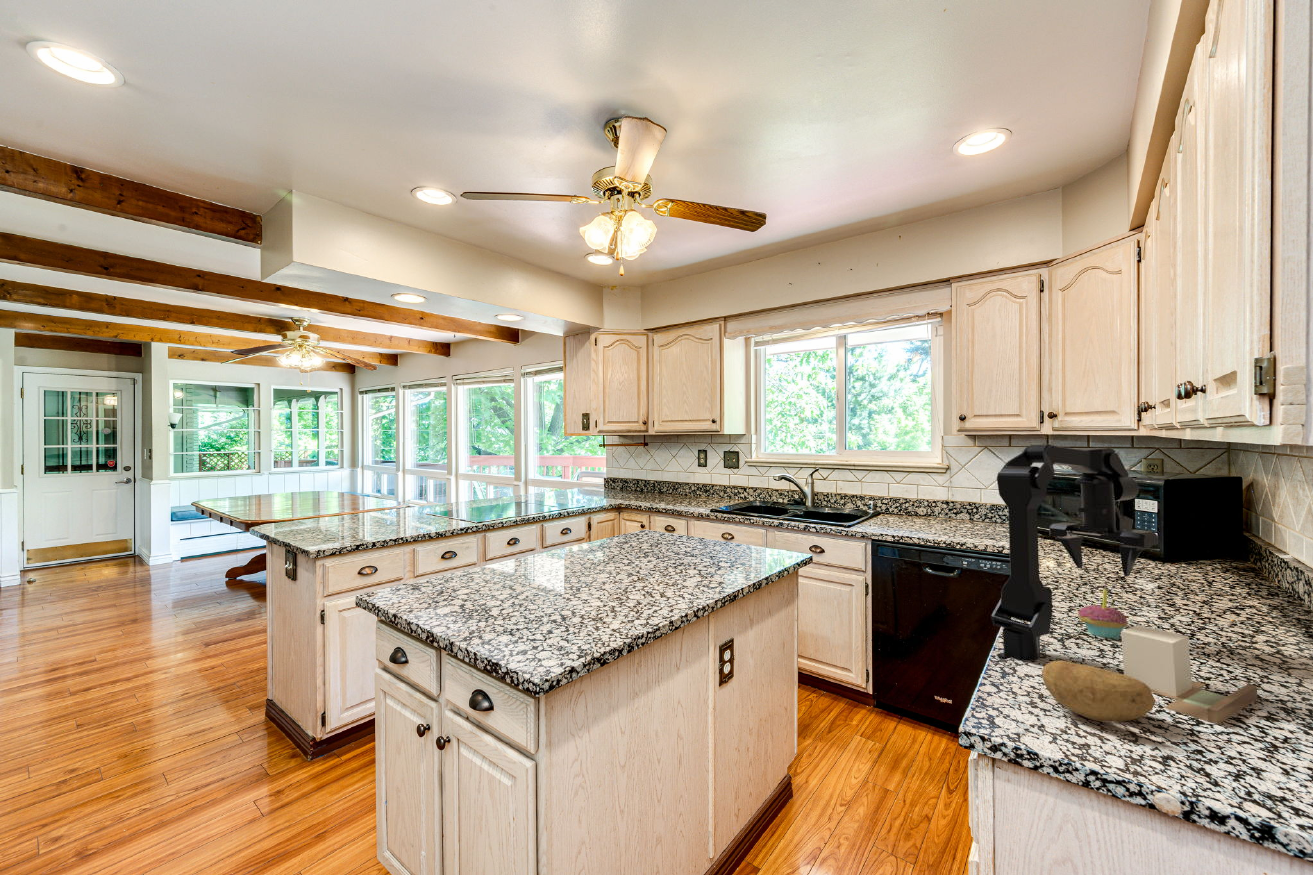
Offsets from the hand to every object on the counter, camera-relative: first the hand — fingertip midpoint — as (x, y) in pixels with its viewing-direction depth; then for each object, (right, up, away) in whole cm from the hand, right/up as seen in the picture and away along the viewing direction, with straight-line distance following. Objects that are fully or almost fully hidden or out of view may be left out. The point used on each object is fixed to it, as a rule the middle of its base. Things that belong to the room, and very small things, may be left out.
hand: (1102, 572), depth 118 cm
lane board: (-12, -14, -29) cm, 34 cm away
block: (-12, -13, -26) cm, 31 cm away
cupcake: (0, -15, -1) cm, 15 cm away
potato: (-30, -15, -34) cm, 47 cm away
